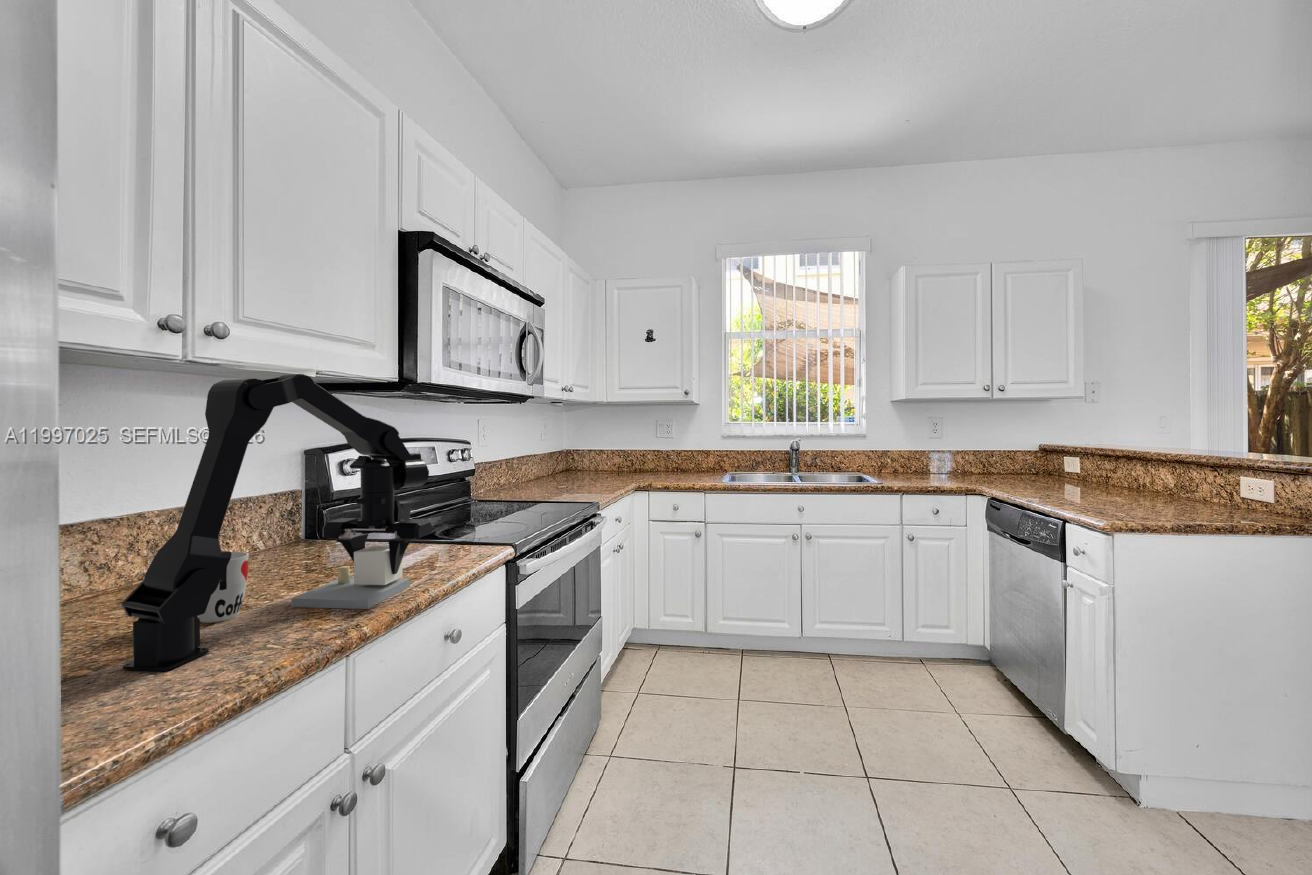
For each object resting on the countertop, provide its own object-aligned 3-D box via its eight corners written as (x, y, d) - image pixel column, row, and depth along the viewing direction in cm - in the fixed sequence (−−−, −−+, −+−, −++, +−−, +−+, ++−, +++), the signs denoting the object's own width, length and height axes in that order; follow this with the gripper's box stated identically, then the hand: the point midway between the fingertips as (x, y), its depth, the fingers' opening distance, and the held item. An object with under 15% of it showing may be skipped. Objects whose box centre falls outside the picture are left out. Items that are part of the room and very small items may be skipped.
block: (385, 585, 105) (384, 552, 105) (354, 584, 106) (353, 551, 106) (402, 576, 111) (402, 545, 111) (373, 575, 112) (372, 545, 112)
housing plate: (368, 608, 98) (367, 582, 98) (291, 606, 100) (291, 581, 99) (410, 586, 112) (409, 563, 112) (342, 584, 113) (342, 562, 113)
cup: (216, 627, 89) (215, 563, 89) (174, 624, 91) (173, 561, 91) (261, 611, 97) (260, 552, 97) (222, 608, 99) (221, 550, 99)
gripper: (444, 487, 115) (445, 564, 116) (356, 486, 117) (357, 562, 117) (416, 493, 104) (417, 578, 105) (320, 492, 106) (321, 576, 106)
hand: (378, 573), depth 108 cm, fingers open, 6 cm apart
